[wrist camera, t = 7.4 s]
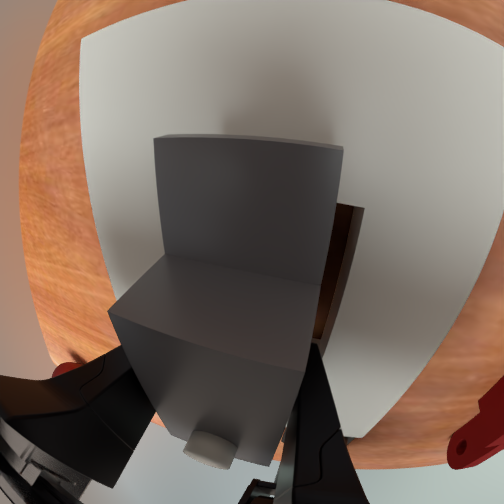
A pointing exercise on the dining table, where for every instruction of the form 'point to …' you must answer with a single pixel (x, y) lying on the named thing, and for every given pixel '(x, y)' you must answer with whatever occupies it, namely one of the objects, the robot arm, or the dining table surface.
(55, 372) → the onion
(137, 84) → the frame
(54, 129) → the dining table surface
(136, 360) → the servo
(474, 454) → the mechanical linkage
